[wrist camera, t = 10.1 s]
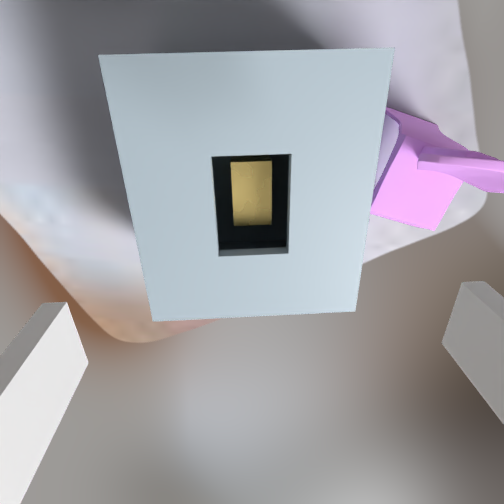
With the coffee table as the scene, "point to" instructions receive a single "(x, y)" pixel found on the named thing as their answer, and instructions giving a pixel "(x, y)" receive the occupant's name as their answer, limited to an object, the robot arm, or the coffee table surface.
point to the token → (251, 189)
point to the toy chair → (429, 174)
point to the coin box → (220, 184)
